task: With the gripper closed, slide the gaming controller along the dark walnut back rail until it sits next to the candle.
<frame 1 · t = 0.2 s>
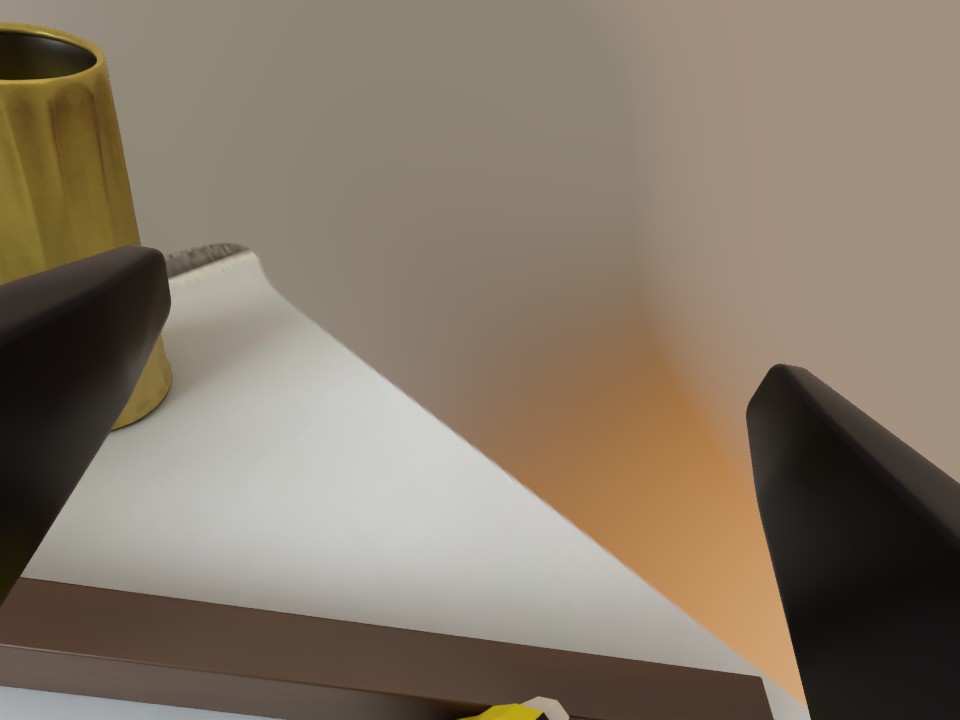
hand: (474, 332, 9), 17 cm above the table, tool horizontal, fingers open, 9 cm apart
vase: (97, 389, 28), on the table
back rail: (239, 680, 20), on the table
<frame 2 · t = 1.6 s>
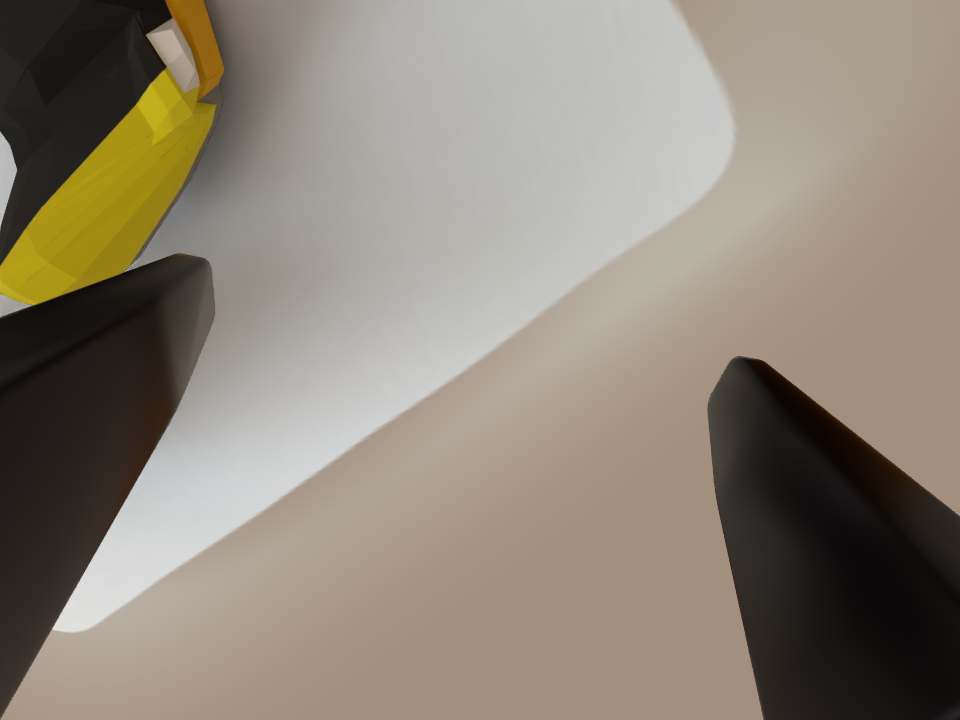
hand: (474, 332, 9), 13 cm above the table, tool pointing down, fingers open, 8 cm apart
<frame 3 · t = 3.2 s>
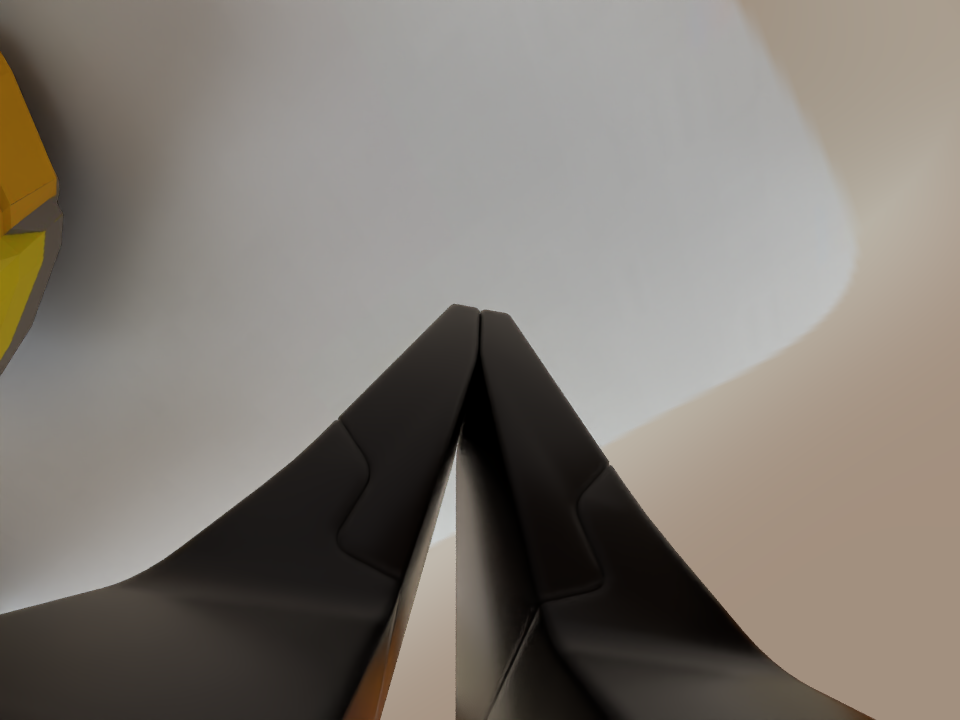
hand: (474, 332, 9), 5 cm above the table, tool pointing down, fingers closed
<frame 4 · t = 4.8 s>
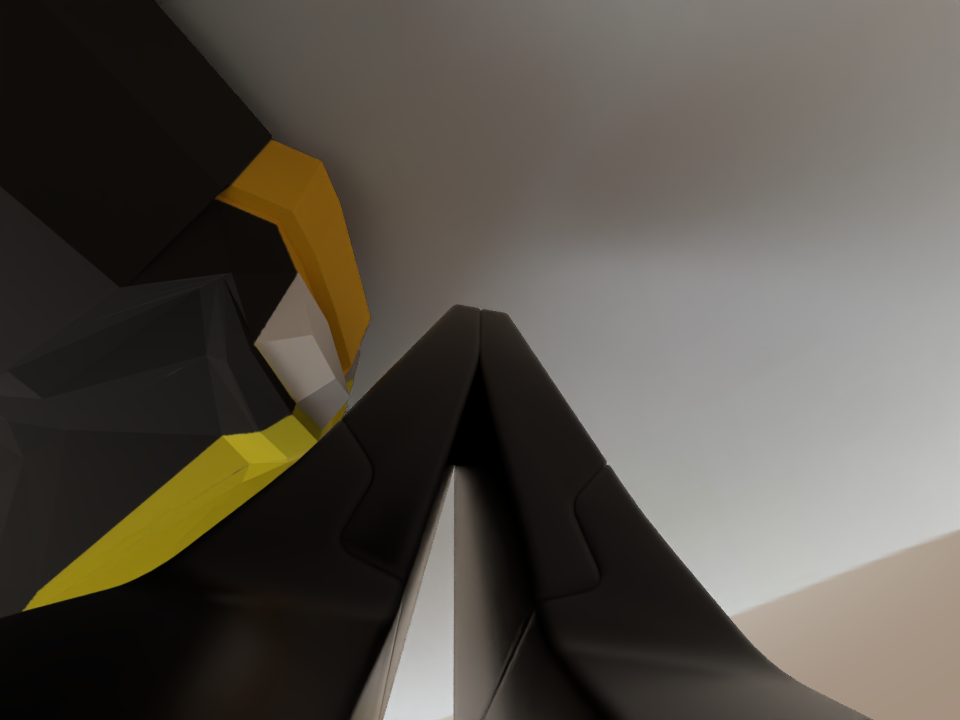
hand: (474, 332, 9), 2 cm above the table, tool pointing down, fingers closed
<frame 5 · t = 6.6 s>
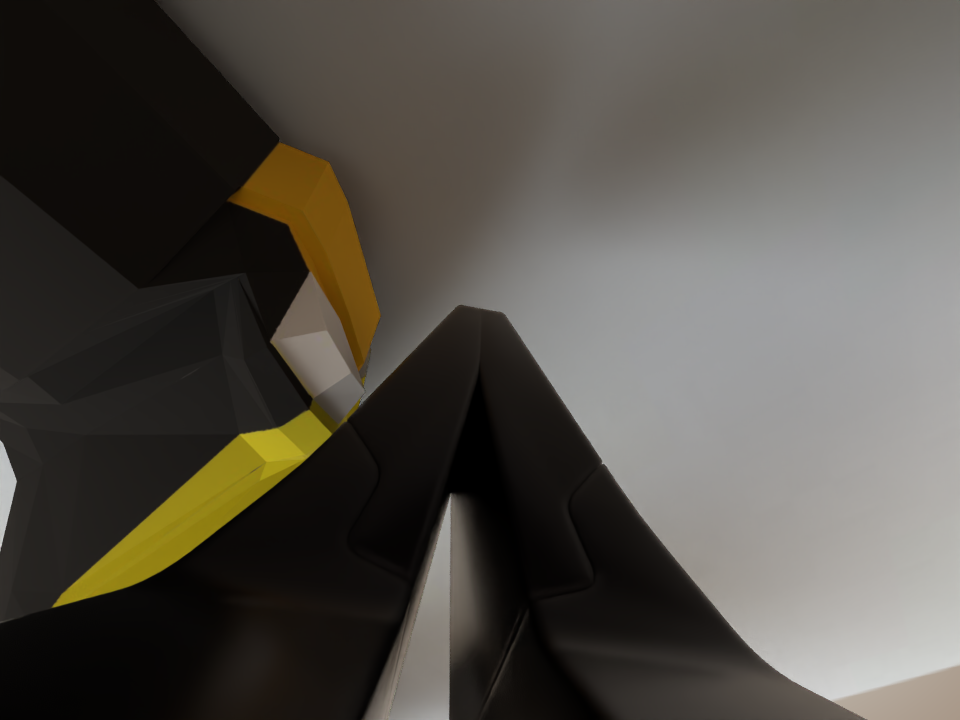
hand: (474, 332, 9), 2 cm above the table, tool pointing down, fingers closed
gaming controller: (7, 178, 10), on the table, touching gripper
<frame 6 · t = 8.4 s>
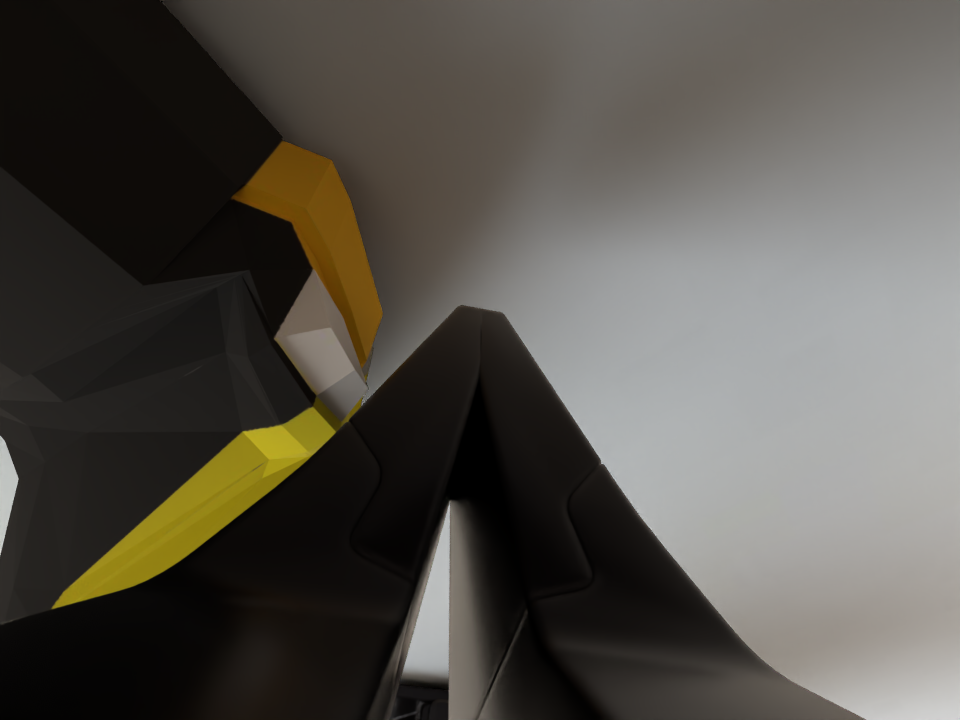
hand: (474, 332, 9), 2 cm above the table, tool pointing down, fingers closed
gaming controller: (10, 176, 10), on the table, touching gripper
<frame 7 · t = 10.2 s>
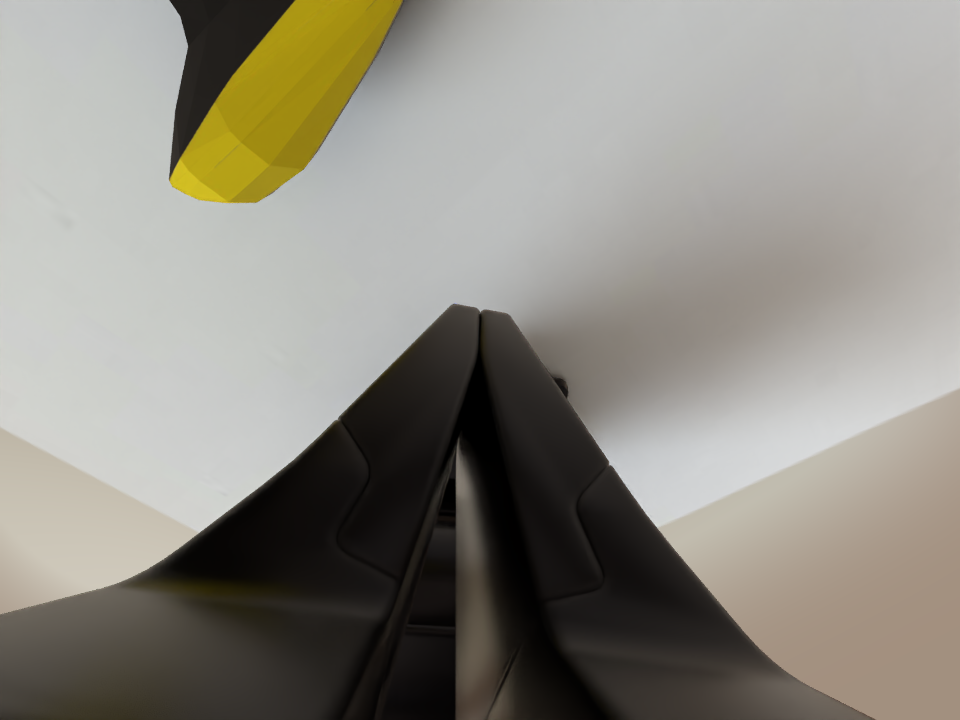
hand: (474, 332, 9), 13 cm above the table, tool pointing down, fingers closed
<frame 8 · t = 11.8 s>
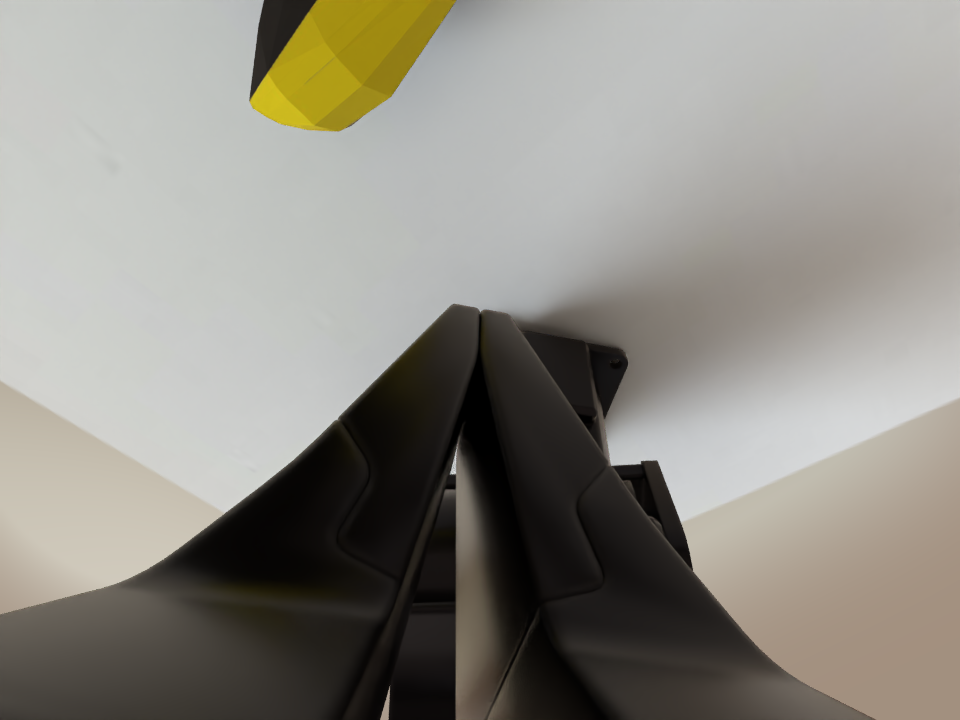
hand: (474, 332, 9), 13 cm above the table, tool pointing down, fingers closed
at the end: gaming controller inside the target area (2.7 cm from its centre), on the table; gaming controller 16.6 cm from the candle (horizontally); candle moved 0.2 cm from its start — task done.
